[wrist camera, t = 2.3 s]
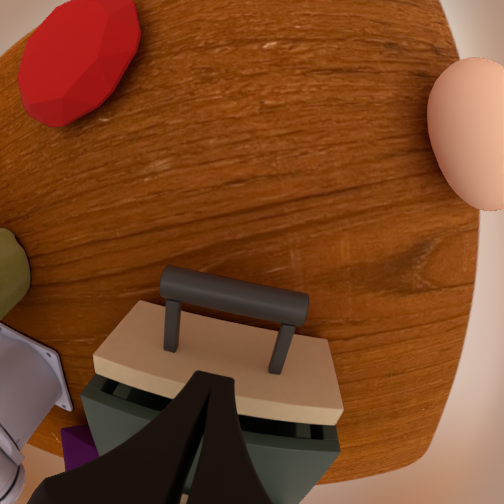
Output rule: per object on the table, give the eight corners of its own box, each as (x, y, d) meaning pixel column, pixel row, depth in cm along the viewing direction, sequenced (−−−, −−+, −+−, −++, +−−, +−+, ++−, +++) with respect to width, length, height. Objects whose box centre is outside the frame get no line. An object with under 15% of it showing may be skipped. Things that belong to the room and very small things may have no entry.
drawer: (142, 232, 16) (84, 269, 10) (349, 274, 15) (383, 332, 10) (144, 424, 21) (121, 476, 15) (277, 453, 21) (275, 509, 15)
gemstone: (100, 147, 15) (69, 145, 12) (21, 105, 14) (-8, 102, 11) (176, 14, 12) (158, -10, 9) (80, -3, 12) (57, -19, 9)
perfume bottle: (77, 439, 25) (17, 546, 8) (75, 407, 23) (-6, 535, 5) (134, 468, 25) (87, 586, 8) (141, 441, 23) (81, 588, 6)
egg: (557, 66, 5) (558, 233, 8) (500, 84, 11) (500, 204, 14) (442, 24, 7) (450, 219, 9) (409, 64, 13) (412, 193, 15)
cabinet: (136, 320, 18) (79, 394, 11) (323, 359, 18) (341, 452, 11) (143, 435, 23) (116, 496, 15) (275, 463, 22) (272, 531, 15)
